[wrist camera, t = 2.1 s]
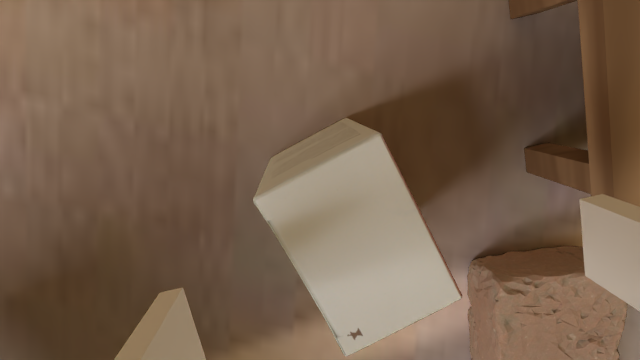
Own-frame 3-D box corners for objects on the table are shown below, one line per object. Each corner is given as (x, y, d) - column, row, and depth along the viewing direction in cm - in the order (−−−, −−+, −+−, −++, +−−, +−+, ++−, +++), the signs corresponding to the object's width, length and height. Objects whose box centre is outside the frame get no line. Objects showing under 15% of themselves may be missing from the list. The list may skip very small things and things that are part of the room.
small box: (401, 222, 27) (468, 303, 17) (326, 261, 27) (346, 364, 17) (347, 113, 25) (384, 128, 15) (267, 156, 25) (249, 199, 15)
